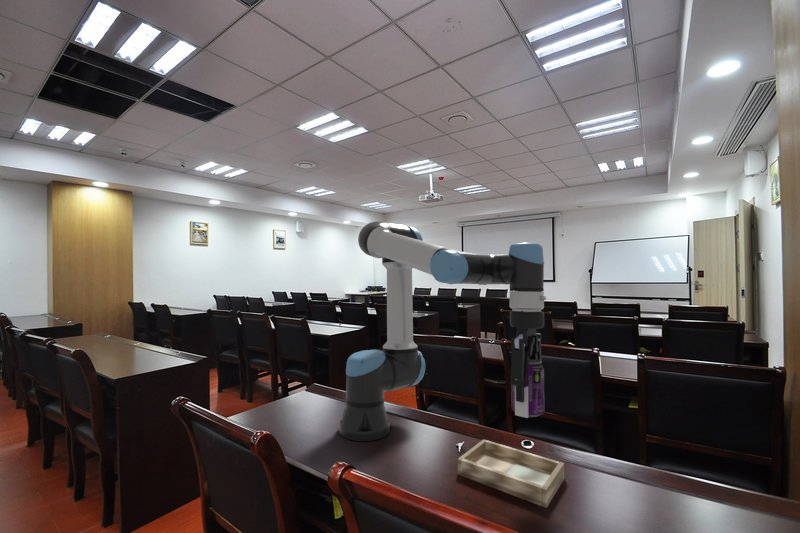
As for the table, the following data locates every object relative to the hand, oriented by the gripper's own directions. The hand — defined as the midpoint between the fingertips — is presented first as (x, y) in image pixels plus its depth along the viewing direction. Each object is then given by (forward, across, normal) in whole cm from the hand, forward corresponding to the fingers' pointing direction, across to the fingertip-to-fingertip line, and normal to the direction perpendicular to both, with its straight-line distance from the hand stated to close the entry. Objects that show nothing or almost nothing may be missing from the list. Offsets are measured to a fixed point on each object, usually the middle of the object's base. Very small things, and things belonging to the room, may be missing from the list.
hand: (527, 411), depth 81 cm
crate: (+16, 0, +4) cm, 16 cm away
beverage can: (+1, 0, 0) cm, 1 cm away
